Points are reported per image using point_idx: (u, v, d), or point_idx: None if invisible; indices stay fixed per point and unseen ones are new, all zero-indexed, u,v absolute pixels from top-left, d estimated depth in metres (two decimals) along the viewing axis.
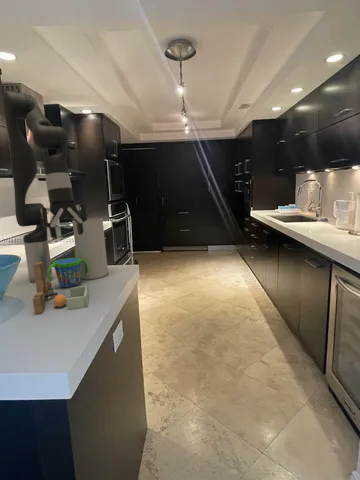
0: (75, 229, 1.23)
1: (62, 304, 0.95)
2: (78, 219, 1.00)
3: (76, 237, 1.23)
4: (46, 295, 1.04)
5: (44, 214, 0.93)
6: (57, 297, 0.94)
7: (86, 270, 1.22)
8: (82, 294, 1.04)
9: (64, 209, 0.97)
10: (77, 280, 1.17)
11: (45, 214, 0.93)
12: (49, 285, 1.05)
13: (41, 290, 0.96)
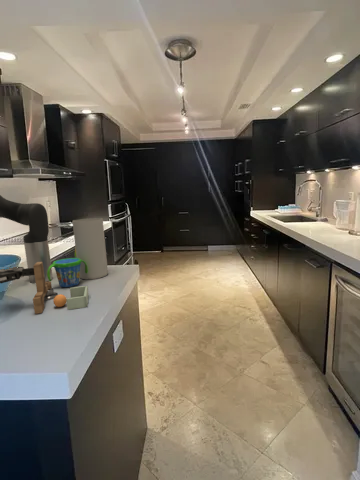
0: (75, 229, 1.23)
1: (62, 304, 0.95)
2: None
3: (76, 237, 1.23)
4: (46, 295, 1.04)
5: None
6: (57, 297, 0.94)
7: (86, 270, 1.22)
8: (82, 294, 1.04)
9: None
10: (77, 280, 1.17)
11: None
12: (49, 285, 1.05)
13: (41, 290, 0.96)
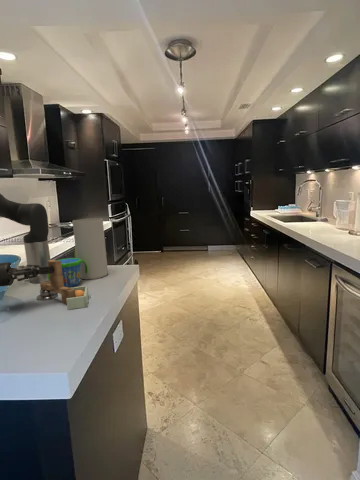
0: (75, 229, 1.23)
1: (78, 294, 0.98)
2: None
3: (76, 237, 1.23)
4: (46, 295, 1.04)
5: None
6: None
7: (86, 270, 1.22)
8: None
9: None
10: (77, 280, 1.17)
11: None
12: None
13: (62, 285, 1.00)
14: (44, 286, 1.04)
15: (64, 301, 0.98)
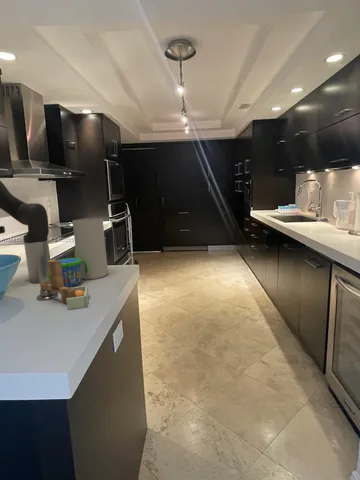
0: (75, 229, 1.23)
1: (78, 294, 0.98)
2: None
3: (76, 237, 1.23)
4: (46, 295, 1.04)
5: None
6: None
7: (86, 270, 1.23)
8: None
9: None
10: (77, 280, 1.17)
11: None
12: None
13: (62, 285, 1.00)
14: (44, 286, 1.04)
15: (64, 301, 0.98)
